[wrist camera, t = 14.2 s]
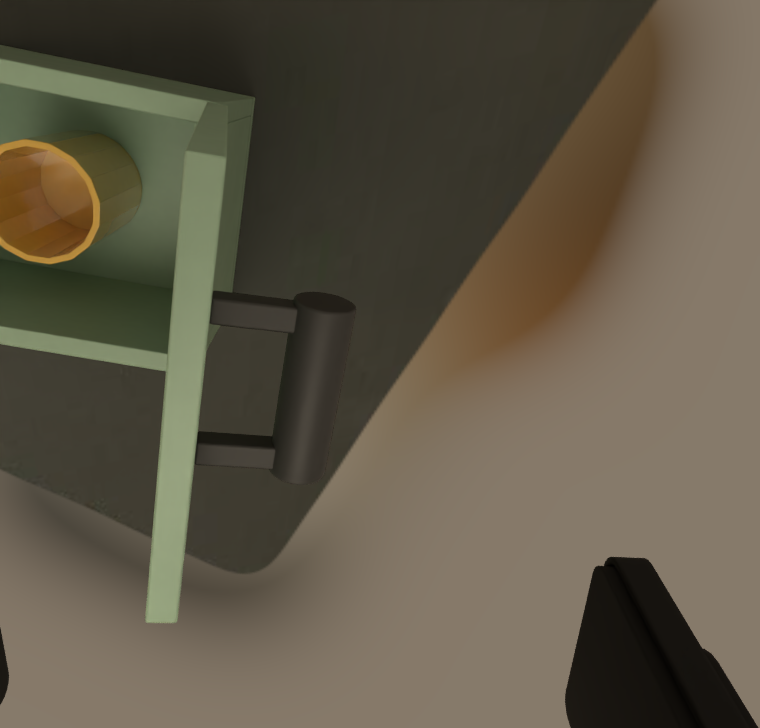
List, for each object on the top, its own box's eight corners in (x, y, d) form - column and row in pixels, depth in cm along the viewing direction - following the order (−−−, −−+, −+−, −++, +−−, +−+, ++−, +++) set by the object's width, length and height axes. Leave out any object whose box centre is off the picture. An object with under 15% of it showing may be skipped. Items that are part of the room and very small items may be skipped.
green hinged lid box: (-14, 266, 39) (-129, 323, 30) (-19, 40, 34) (-156, 26, 25) (230, 308, 40) (192, 376, 31) (255, 97, 36) (219, 103, 27)
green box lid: (144, 624, 17) (314, 624, 19) (184, 150, 13) (404, 187, 14) (180, 379, 30) (279, 388, 32) (206, 101, 26) (320, 123, 27)
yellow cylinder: (62, 243, 37) (5, 274, 31) (21, 142, 35) (-48, 155, 29) (156, 222, 37) (117, 249, 31) (121, 119, 35) (71, 127, 29)
